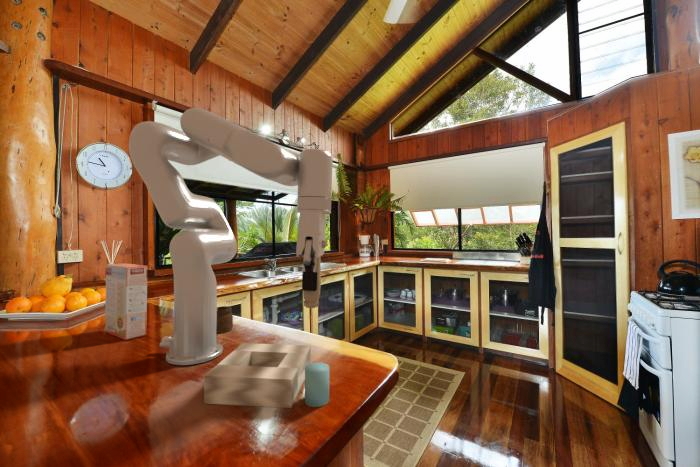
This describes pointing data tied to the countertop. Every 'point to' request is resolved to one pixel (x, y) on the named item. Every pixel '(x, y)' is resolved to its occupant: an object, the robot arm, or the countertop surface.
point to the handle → (313, 296)
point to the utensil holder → (224, 319)
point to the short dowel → (317, 384)
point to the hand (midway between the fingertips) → (311, 287)
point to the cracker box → (126, 300)
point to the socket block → (258, 376)
